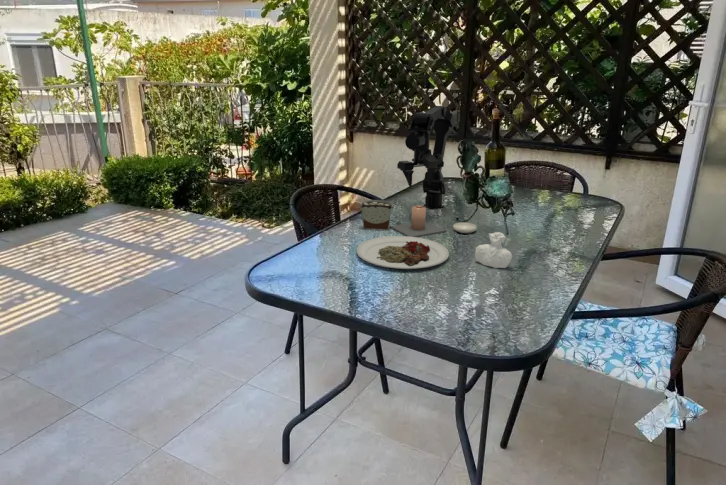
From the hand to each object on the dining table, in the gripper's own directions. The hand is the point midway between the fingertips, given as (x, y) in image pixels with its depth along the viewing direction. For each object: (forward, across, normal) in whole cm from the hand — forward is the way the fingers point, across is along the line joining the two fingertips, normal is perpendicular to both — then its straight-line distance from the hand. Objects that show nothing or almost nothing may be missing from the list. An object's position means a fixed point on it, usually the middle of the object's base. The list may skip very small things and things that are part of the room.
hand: (419, 185), depth 211 cm
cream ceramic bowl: (+13, +5, -23) cm, 27 cm away
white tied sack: (+13, -9, -54) cm, 56 cm away
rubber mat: (+13, -10, -14) cm, 22 cm away
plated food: (+14, -30, -34) cm, 47 cm away
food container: (+13, -22, -4) cm, 26 cm away
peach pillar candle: (+12, -10, -14) cm, 21 cm away
